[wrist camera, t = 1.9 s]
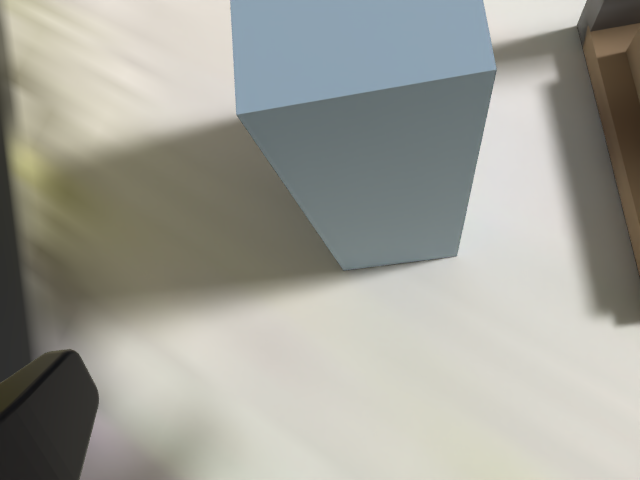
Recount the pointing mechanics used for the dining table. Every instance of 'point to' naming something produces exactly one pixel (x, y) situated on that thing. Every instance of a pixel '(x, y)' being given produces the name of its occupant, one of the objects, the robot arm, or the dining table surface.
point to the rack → (617, 94)
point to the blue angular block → (369, 116)
